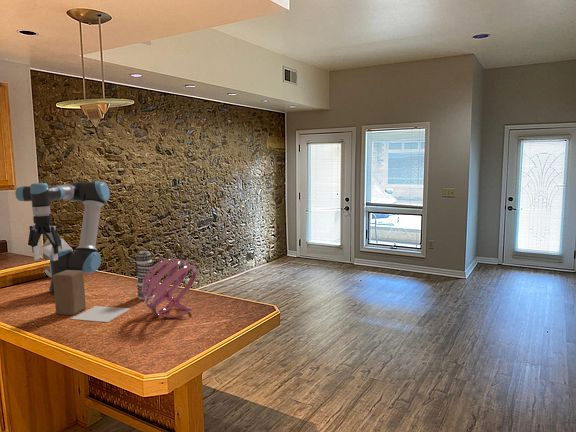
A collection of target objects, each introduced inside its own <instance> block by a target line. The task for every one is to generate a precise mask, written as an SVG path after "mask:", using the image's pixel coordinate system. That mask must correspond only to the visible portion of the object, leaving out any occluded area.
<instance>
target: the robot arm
mask: <svg viewBox="0 0 576 432" xmlns="http://www.w3.org/2000/svg"><path fill="white" fill-rule="evenodd" d="M14 193H15V198H16V199H17V200H18V201H20V202H31V208H32V209H31V210H32V215H33V216H32V219H33V221H32V222H33V224H34V225H30V226H29V235H28V240H27V245H28V246H30V247H31V250H32V253H33V260H34V261H37V260H40V259H41V257H40V247H39V241H40V239H41V236H42V235H44V236H46V238H47V239H49V241H50V243H51V245H52V246H53V247H52V248H51V249H52V254H51V255H50V265H51V275H52V278H51V281H50V285H49V289H48V290H49V294H52V295H54V284H53V275H54V274H57V273H60V272H62V271H65V270H81V271H83V274H92V273H93V274H94V273H95V272H97V271H98V269H99V268H100V266H101V263H102V258H101V254H100V253H99V252H98V249H97V248H96V245H97V238H98V231H99V223H100V217H101V209H102V208H103V207H104V206H105V202H108V201H109V200H110V198H111V197H110V194H111V193H110V189H109V186H108V185H107V183H105V182H104V181H96V180H95V181H77V182H71V183H63V184H61V185H55V184H54V185H48V183H47V182H37V183H35V182H33V183H31V184H30V185H29V186H28V185H27V186H26V185H23V186H18V187H17V188H16V189H15V191H14ZM60 200H63V201H73V202H82V204H83V205H84V210H83V218H82V223H81V230H80V237H79V244H78V246H77V247H75V251H74V250H73V251H72V249H73V248H72V249H67V250H61V251H58V246H61V245H62V244H61V241H60V238H61V237H60V238H59V235H60V234H59V235H58V230H57V229H58V226H57V225H54V226H53V225H51V223H52V217H51V216H52V215H51V204H50V202H53V201H54V202H55V201H60Z"/></svg>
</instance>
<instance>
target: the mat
mask: <svg viewBox="0 0 576 432" xmlns="http://www.w3.org/2000/svg"><path fill="white" fill-rule="evenodd" d="M130 310H131V308H128V307H115V306H114V307H112V306H99V305H95V306H93V307H91V308H89V309H88V310H84V312H80V313H79V314H77V315H74V316H73V317H70V320H74V321H75V320H76V321H86V322H89V321H90V322H99V323H109V322H111V321H113V320H115V319H116V318H118V317H119V316H121V315H124V314H125V313H126V312H128V311H130Z"/></svg>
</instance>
